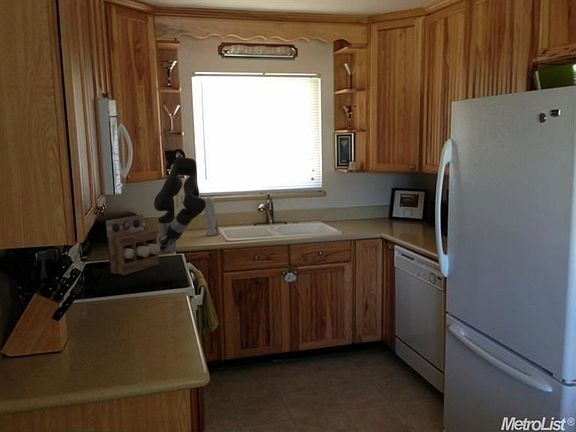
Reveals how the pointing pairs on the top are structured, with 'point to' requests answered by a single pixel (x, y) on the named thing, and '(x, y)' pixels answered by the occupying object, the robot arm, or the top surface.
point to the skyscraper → (210, 217)
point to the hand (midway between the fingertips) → (161, 249)
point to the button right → (153, 248)
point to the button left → (128, 253)
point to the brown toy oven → (129, 244)
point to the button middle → (142, 251)
